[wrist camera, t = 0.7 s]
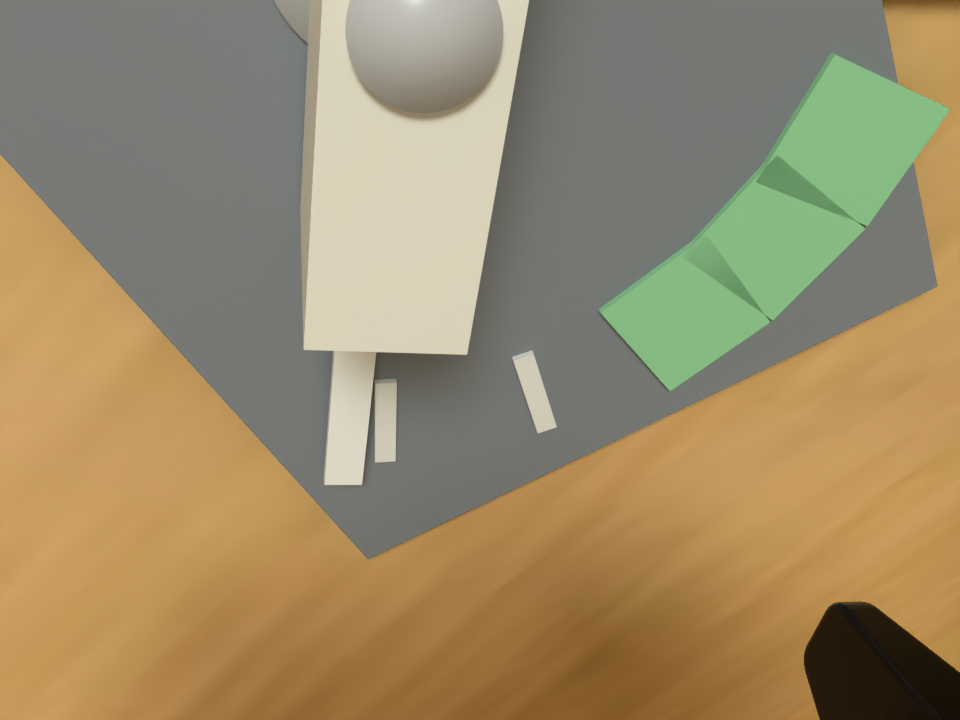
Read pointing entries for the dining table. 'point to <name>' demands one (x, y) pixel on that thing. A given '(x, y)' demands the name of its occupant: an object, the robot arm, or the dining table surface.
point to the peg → (398, 186)
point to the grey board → (514, 221)
